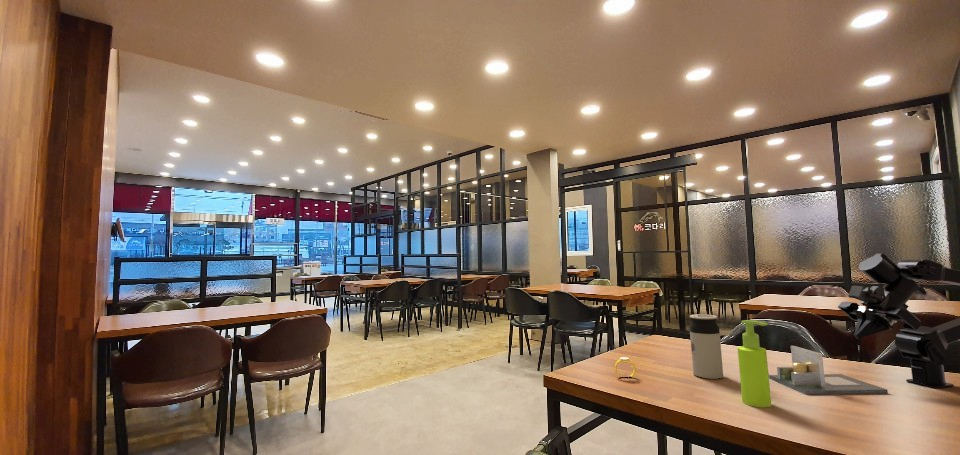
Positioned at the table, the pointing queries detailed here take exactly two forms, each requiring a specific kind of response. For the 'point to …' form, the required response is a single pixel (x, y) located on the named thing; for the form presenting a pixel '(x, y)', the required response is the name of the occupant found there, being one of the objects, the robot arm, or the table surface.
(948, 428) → the table surface
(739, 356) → the soap dispenser
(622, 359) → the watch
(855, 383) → the base
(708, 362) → the travel mug
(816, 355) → the grey bracket
